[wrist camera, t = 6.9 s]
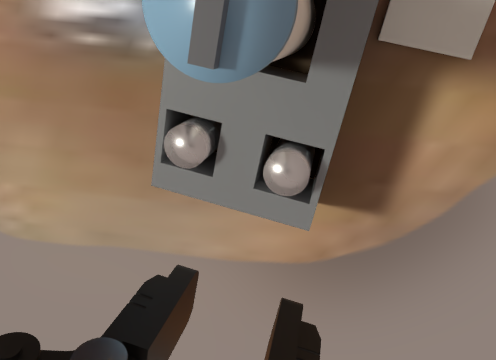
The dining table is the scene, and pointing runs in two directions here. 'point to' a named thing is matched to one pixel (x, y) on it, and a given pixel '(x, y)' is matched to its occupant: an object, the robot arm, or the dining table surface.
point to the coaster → (437, 25)
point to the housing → (266, 120)
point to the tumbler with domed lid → (228, 34)
